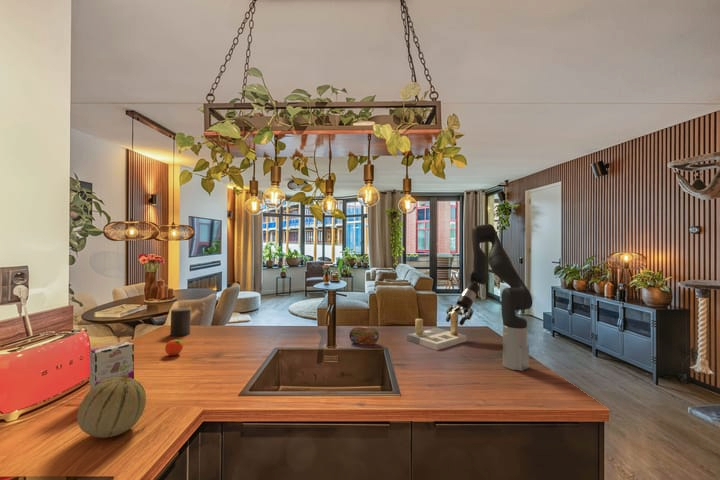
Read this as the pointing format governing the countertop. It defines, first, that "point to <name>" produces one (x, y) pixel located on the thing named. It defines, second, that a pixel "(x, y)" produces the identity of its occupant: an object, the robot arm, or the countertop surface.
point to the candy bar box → (111, 362)
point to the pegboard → (434, 337)
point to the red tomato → (173, 347)
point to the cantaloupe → (112, 407)
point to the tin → (364, 335)
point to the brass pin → (454, 323)
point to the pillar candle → (180, 321)
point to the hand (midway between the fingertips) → (453, 322)
